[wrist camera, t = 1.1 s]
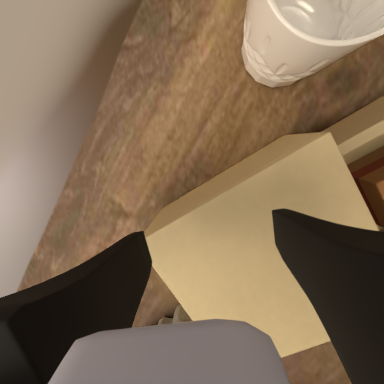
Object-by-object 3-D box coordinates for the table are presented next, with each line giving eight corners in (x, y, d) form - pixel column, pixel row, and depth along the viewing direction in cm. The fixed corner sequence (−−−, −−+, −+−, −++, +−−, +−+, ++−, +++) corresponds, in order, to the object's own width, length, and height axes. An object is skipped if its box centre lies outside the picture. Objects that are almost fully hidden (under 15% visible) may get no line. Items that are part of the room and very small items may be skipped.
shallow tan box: (283, 134, 19) (330, 131, 12) (345, 249, 22) (419, 311, 14) (162, 208, 23) (135, 243, 15) (226, 301, 25) (232, 375, 17)
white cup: (243, -12, 17) (283, -214, 7) (340, -5, 16) (521, -211, 7) (227, 89, 19) (241, 36, 9) (313, 99, 18) (422, 54, 9)
